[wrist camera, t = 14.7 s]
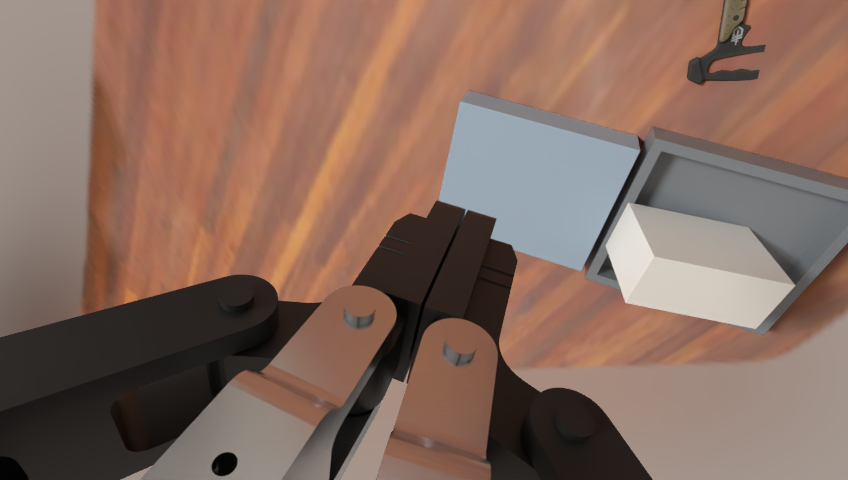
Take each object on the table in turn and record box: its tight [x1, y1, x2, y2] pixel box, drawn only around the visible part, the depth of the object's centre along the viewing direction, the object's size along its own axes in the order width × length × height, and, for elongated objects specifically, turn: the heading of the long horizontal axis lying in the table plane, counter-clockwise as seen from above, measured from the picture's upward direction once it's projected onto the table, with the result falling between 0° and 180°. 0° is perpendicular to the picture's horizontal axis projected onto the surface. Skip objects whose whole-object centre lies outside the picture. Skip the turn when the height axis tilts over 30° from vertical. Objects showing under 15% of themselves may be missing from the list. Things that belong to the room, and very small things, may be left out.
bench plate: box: [439, 90, 640, 271], centre depth 40 cm, size 12×14×3 cm
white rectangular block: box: [606, 202, 795, 329], centre depth 36 cm, size 4×10×7 cm, turn 80°
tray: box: [585, 127, 848, 335], centre depth 38 cm, size 14×16×2 cm
